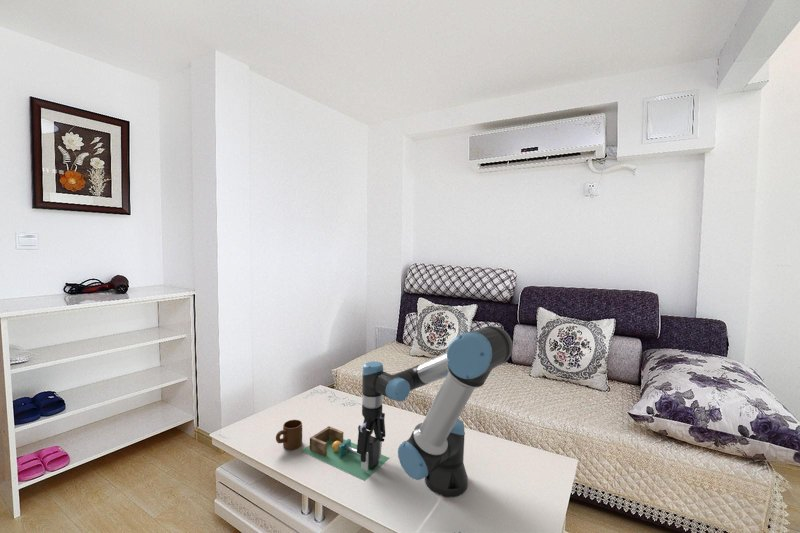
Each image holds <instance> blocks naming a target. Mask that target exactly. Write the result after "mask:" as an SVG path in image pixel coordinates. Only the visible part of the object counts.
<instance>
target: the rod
mask: <svg viewBox="0 0 800 533" xmlns="http://www.w3.org/2000/svg"><path fill="white" fill-rule="evenodd" d="M345 440H346V441H345V442H343V443H342V444H341V445H339V452H338V457H340V458H341V457H343V456H344V455H345V454H347V453H348V452H351V453H353V454H355V455H358V456H360V457H361V454H359V453H357V449H355V448H352V447H351V442H352V440H351V439H350V438H348V439H345ZM367 452H368V468H369V469H371V470H373V469H374V468H375V467H376V466H377V465H378V464H379V439H378V438H376V437H375V436H372V435H371V436H370V441H369V445H368V450H367Z"/></svg>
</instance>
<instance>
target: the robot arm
mask: <svg viewBox="0 0 800 533" xmlns="http://www.w3.org/2000/svg"><path fill="white" fill-rule="evenodd" d="M513 346H514V345H513V341H512V338H511V337H510V335H509V333H508V332H507V330H504V329H503V328H502V327H499V326H495V325H494V326H493V325H487V326H484V327H481V328H479V329H475V330H472V331H466V332H463V333H461V334H459V335H457V336H456V337H455V338H453V339H452V340H451V341H450V343H449V344H448V346H447V349H446V352H444V353H442V354H440V355H438V356H435V357H433V358H430V359H428V360H426V361H423V362H422V363H419V364H417V365H415V366H413V367H410V368H407V369H404V370H401V371H399V372H397V373H394V374H391V373H388V372H386V371H384V365H383V363H382V362H380V361H368V362H365V363H364V364H363V366H362V374H361V375H362V376H361V377H362V381H361V382H362V386H361V387H362V391H361V392H362V397H361V399H362V401H361V402H362V403H361V404H362V405H361V414H362V416H363V424H362V425H360V424H359V425H358V427H357V431H358V435H357V443H356V444H357V453H359V454H361V468H362V469H364V470H366V471H367V470H368V452H367V450H368V445H369V441H370V436H372V435H373V433H374V437H376V438H378V439H379V459H381V455H382V446H383V445H382V442H384V441H385V437H386V423H385V422H386V421H385V418H386V414H385V413H384V412H383V403H384V401H383V400H384V399H383V398H384V397H386V398H388V399H390V400H393V401H396V402H404V401H406V398H408V397H409V395H410V392H411V391H413V390H416V389H418V388H421V387H423V386H426V385H428V384H431V383H434V382H436V381H439V380H442V379H444V380H443V382H442V385H440V386H441V387H440V388H439V390H438V393H437V395H436V396H435V398H434V400H433V402H432V404H431V406H430V408H429V410H428V412H427V413H426V415H425V417H424V420H423V422H420V423H418V424H417V425H415V427H414V429H413V431H412V433H411V435H410V437H409V438H408V439H407V440H405V441H402V443H400V444H399V446H398V448H397V457H398V460H399V464H400V467H401V468H402V469H403V471H404V472H405V474H406V475H407V476H408V477H409V478H411V479H412V480H417V481H420V480H422V479H424V484H425V486H426V487H427V488H428V489H429V490H430V491H431V492H433V493H435V494H437V495H440V496H442V497H446V498H452V497H453V498H454V497H458V496H460V494H461V495H463V494H464V493H465V492H466V491H467V489H468V484H469V483H468V482H469V479H468V474H467V470H466V468H465V463H464V454H465V434H466V432H465V424H464V423H463V421H462V420H461V419H459V418H460V416H461V415H462V412H463V410H464V409H465V407H466V405H467V403H468V401H469V399H470V397H471V396H472V394H473V393H474V391H475V389H477V388H481V387H483V386H484V384H485V382H486V381H487V379H488V377H489V375H490V374H491V372H492V371H493V370H494V369H495V368H497V367H499V366H501V365H503V364H504V363H506V362H507V361H508V360H509V358H510V357H511V356H512V353H513ZM383 396H384V397H383ZM465 490H466V491H465ZM464 491H465V492H464ZM463 492H464V493H463Z"/></svg>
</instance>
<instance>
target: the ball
mask: <svg viewBox="0 0 800 533" xmlns="http://www.w3.org/2000/svg"><path fill="white" fill-rule="evenodd" d="M341 444H342V443H341V442H340V441H335V442H334V443H333V444H332V449H333V451H335V452H339V445H341Z"/></svg>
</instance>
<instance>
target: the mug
mask: <svg viewBox="0 0 800 533" xmlns="http://www.w3.org/2000/svg"><path fill="white" fill-rule="evenodd" d="M282 427H283V428H282V429H281V430H279V431H278V432H277V434H276V435H275V441H276V443H278V444H282V447H283V449H284V450H286V451H294V450H297V449H299V448H301V447H302V445H303V423H302V421H301V420H299V419H291V420H287V421H286V422H284V423H283V426H282ZM281 436H282V438H281Z"/></svg>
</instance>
